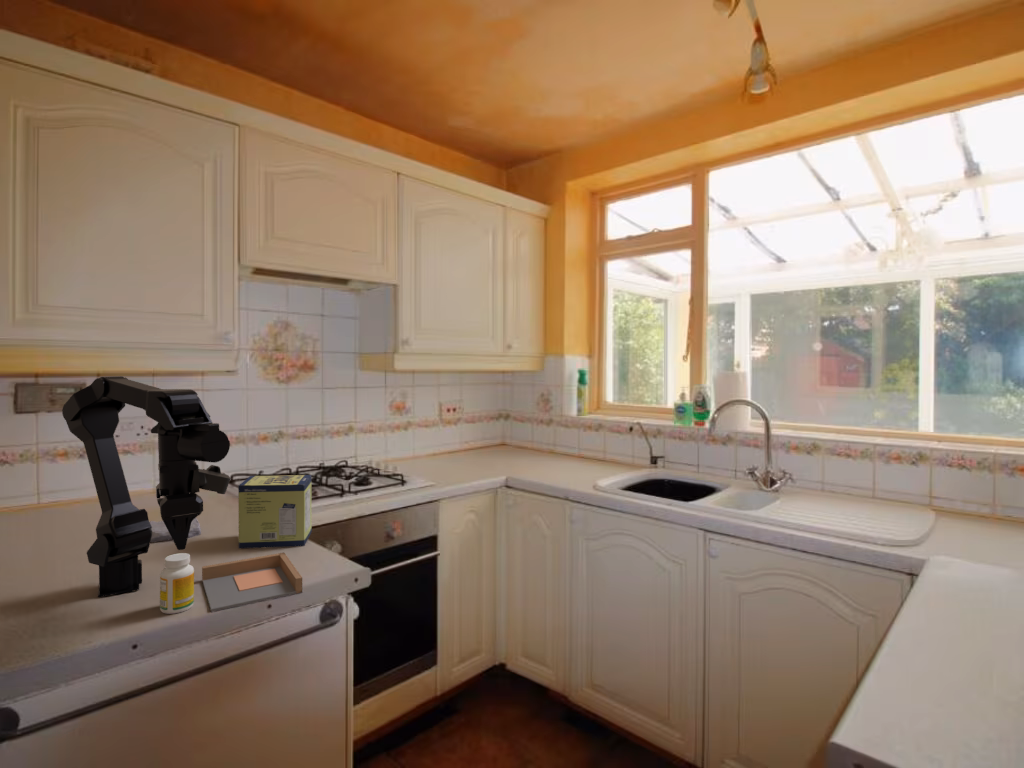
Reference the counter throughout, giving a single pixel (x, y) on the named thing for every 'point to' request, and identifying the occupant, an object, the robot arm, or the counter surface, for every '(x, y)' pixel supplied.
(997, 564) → the counter surface
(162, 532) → the grey rock
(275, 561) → the tray
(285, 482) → the protein box
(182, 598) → the supplement bottle
